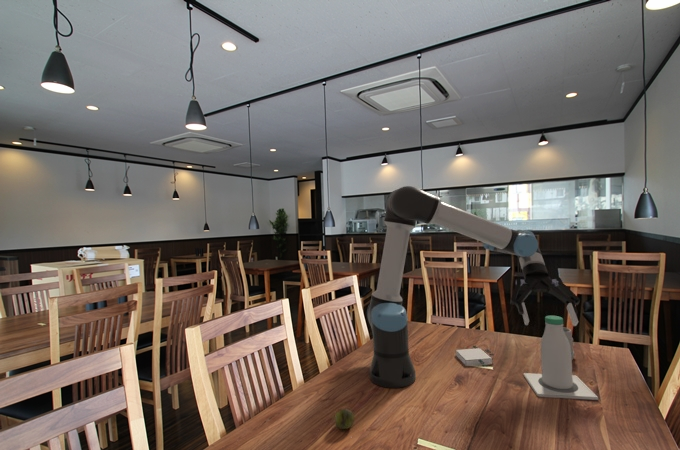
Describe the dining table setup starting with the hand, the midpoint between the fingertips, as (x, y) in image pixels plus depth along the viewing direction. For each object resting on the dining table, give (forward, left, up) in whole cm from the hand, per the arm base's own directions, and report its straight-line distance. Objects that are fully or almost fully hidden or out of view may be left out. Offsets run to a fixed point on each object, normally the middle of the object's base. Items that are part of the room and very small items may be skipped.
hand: (551, 323), depth 105 cm
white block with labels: (-21, +13, -18) cm, 30 cm away
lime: (-60, -33, -18) cm, 71 cm away
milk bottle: (-1, -5, -17) cm, 17 cm away
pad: (-1, -5, -17) cm, 18 cm away
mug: (+8, +20, -18) cm, 28 cm away
